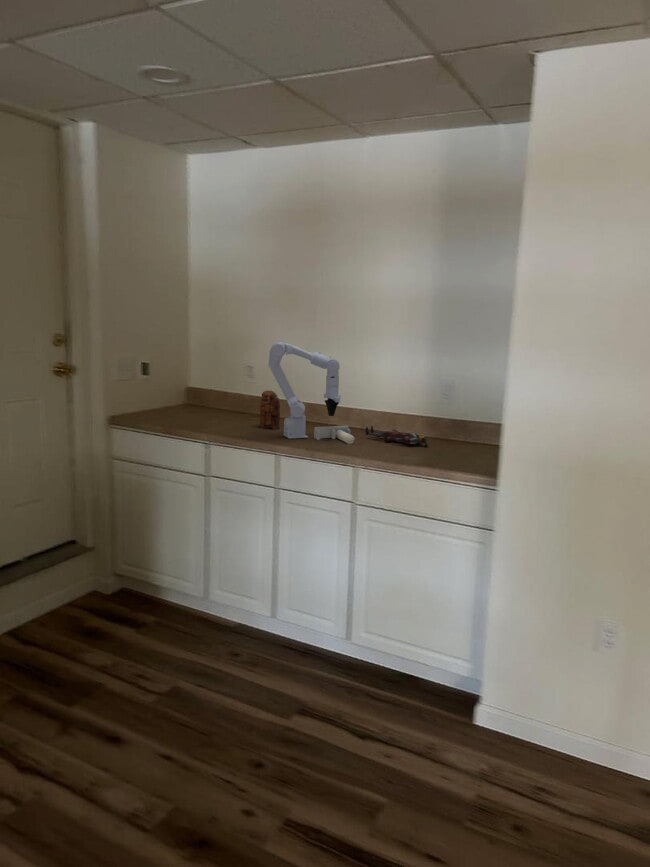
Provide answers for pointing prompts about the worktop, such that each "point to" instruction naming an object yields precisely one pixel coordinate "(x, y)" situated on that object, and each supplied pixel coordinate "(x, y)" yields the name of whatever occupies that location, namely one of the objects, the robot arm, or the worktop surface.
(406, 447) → the worktop surface
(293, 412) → the robot arm
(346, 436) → the tall cream cylinder
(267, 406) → the wooden figurine
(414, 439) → the figurine
